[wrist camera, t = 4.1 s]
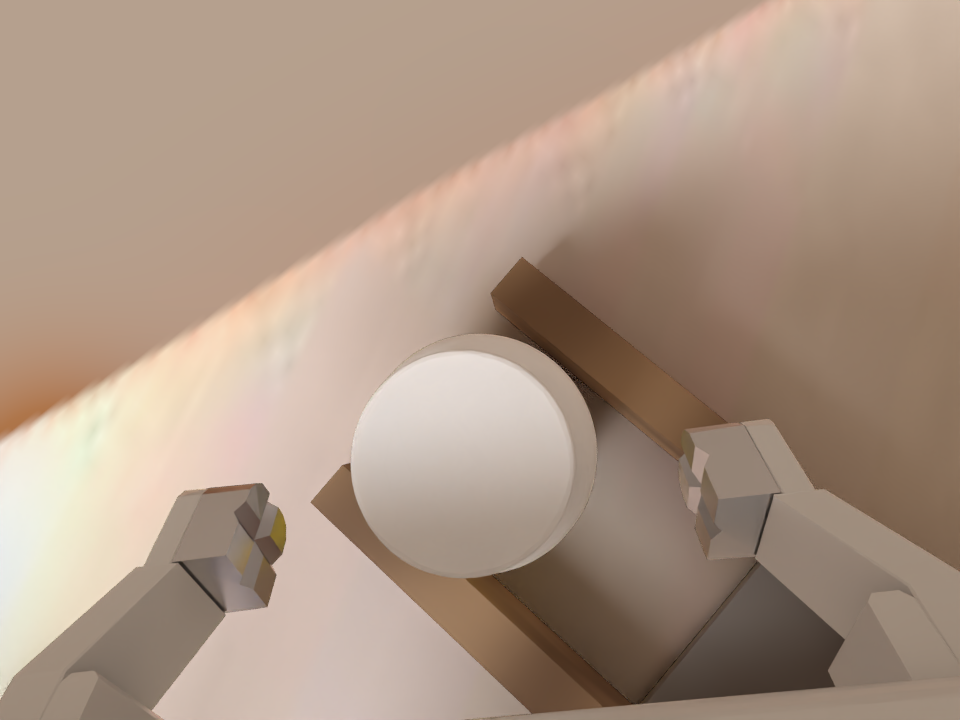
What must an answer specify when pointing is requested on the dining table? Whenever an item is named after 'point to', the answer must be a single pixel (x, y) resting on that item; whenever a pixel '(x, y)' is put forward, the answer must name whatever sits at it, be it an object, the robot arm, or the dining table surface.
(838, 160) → the dining table surface
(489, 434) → the supplement bottle
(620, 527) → the dining table surface
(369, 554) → the guide channel
